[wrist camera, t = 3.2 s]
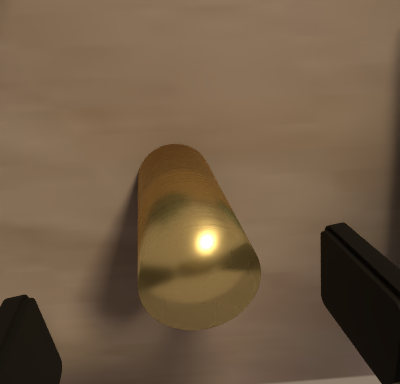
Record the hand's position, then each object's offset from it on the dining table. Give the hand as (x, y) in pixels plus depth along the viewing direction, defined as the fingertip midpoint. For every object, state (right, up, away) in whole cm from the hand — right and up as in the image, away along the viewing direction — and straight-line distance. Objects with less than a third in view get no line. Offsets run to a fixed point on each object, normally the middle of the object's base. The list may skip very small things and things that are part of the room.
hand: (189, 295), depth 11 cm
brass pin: (-1, +4, +8) cm, 9 cm away
